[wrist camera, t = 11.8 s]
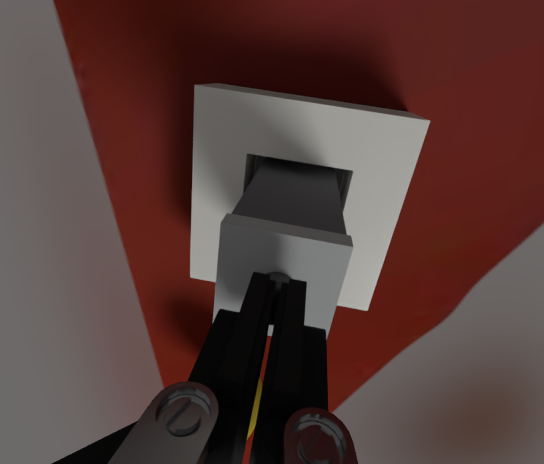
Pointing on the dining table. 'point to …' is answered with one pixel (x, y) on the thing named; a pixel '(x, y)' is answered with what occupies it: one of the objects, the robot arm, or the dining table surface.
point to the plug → (286, 239)
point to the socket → (308, 149)
